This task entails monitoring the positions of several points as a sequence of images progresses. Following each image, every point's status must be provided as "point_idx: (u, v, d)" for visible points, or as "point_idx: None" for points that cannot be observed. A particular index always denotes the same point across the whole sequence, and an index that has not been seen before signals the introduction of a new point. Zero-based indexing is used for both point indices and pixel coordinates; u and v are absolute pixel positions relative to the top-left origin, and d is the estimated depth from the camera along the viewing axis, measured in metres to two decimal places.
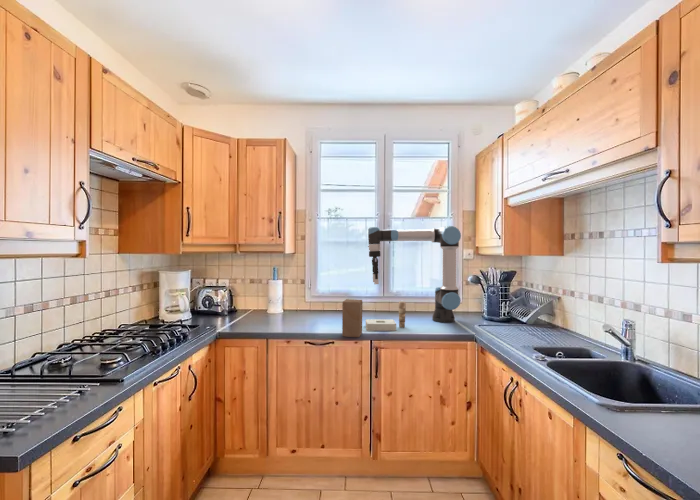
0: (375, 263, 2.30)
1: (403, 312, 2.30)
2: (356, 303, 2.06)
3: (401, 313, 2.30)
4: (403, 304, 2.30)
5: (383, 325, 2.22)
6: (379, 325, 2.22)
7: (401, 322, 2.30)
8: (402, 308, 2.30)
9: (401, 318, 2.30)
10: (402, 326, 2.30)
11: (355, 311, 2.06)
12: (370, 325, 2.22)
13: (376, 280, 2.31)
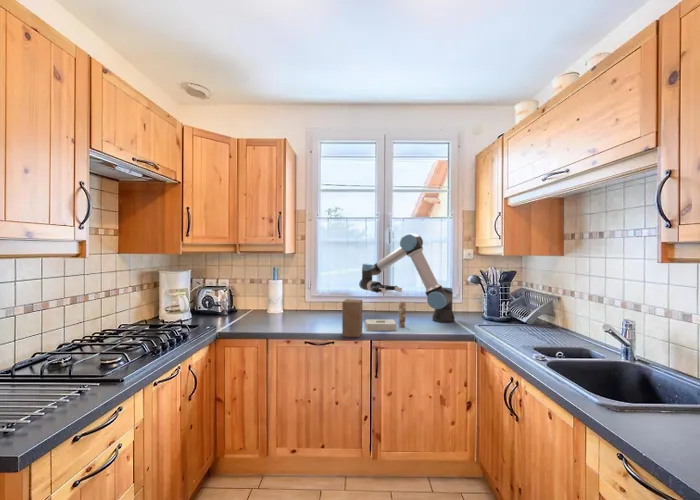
0: (372, 288, 2.47)
1: (403, 312, 2.30)
2: (356, 303, 2.06)
3: (401, 313, 2.30)
4: (403, 304, 2.30)
5: (383, 325, 2.22)
6: (379, 325, 2.22)
7: (401, 322, 2.30)
8: (402, 308, 2.30)
9: (401, 318, 2.30)
10: (402, 326, 2.30)
11: (355, 311, 2.06)
12: (370, 325, 2.22)
13: (382, 290, 2.38)
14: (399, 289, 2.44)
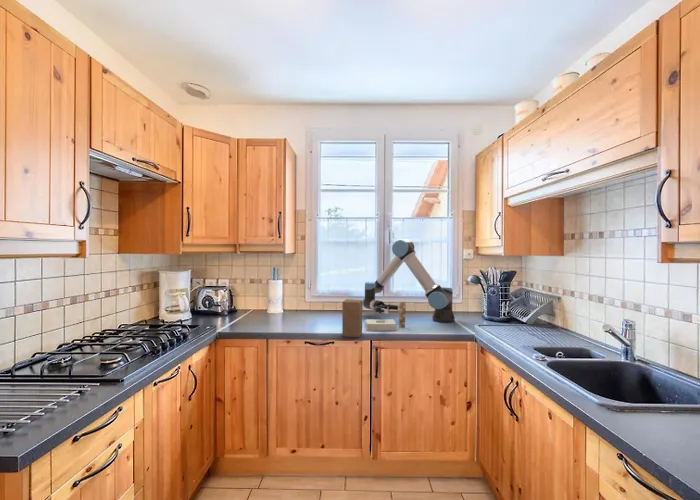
0: (375, 308, 2.44)
1: (403, 312, 2.30)
2: (356, 303, 2.06)
3: (401, 313, 2.30)
4: (403, 304, 2.30)
5: (383, 325, 2.22)
6: (379, 325, 2.22)
7: (401, 322, 2.30)
8: (402, 308, 2.30)
9: (401, 318, 2.30)
10: (402, 326, 2.30)
11: (355, 311, 2.06)
12: (370, 325, 2.22)
13: (384, 311, 2.35)
14: None
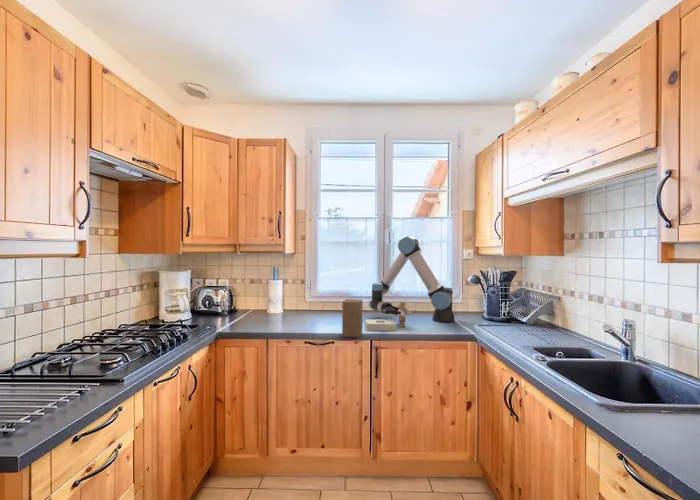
0: (386, 311, 2.36)
1: None
2: (356, 303, 2.06)
3: None
4: (403, 304, 2.30)
5: (383, 325, 2.22)
6: (379, 325, 2.22)
7: (401, 322, 2.30)
8: (402, 308, 2.30)
9: (401, 318, 2.30)
10: (402, 326, 2.30)
11: (355, 311, 2.06)
12: (370, 325, 2.22)
13: (401, 313, 2.28)
14: (408, 312, 2.30)
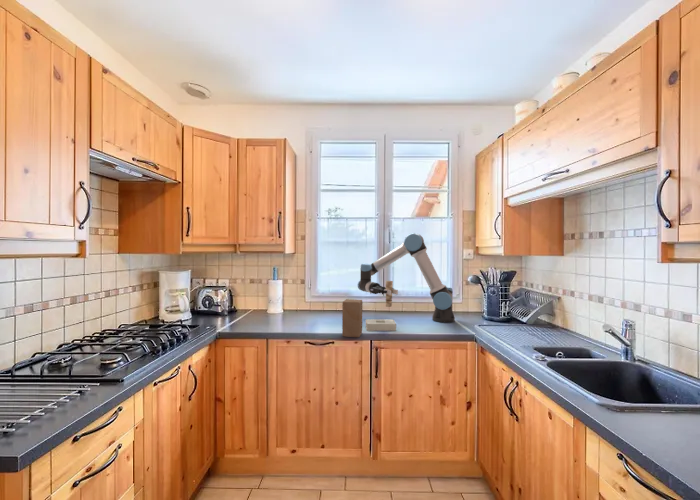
0: (373, 290, 2.35)
1: None
2: (356, 303, 2.06)
3: None
4: (390, 283, 2.28)
5: (383, 325, 2.22)
6: (379, 325, 2.22)
7: (388, 301, 2.29)
8: (389, 287, 2.28)
9: (388, 297, 2.29)
10: (389, 305, 2.29)
11: (355, 311, 2.06)
12: (370, 325, 2.22)
13: (388, 292, 2.27)
14: (395, 291, 2.28)
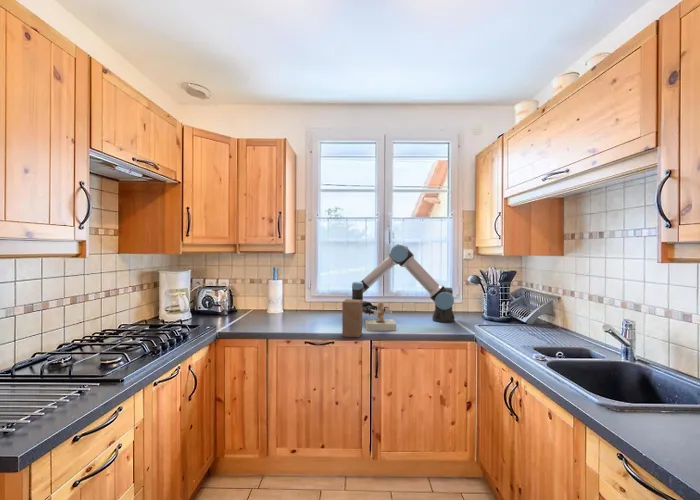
0: (363, 310, 2.33)
1: (382, 313, 2.27)
2: (356, 303, 2.06)
3: (379, 314, 2.27)
4: (381, 305, 2.27)
5: (383, 325, 2.22)
6: (379, 325, 2.22)
7: None
8: (380, 309, 2.27)
9: (379, 319, 2.27)
10: None
11: (355, 311, 2.06)
12: (370, 325, 2.22)
13: (374, 312, 2.24)
14: (389, 311, 2.29)
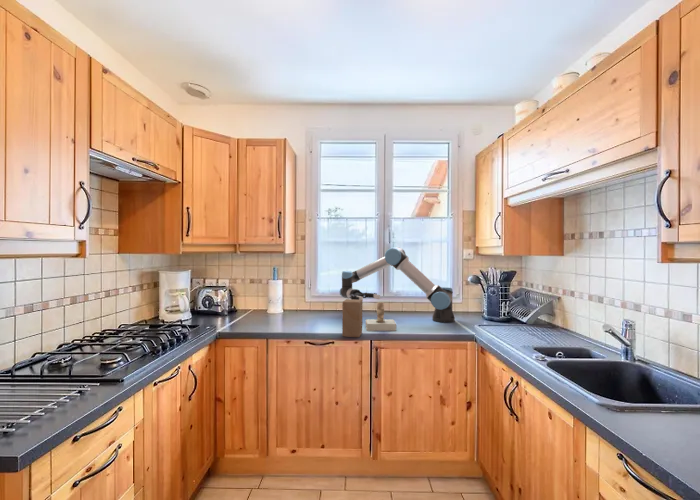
0: (350, 296, 2.45)
1: (382, 313, 2.27)
2: (356, 303, 2.06)
3: (379, 314, 2.27)
4: (381, 305, 2.27)
5: (383, 325, 2.22)
6: (379, 325, 2.22)
7: None
8: (380, 309, 2.27)
9: (379, 319, 2.27)
10: None
11: (355, 311, 2.06)
12: (370, 325, 2.22)
13: (359, 298, 2.36)
14: (377, 296, 2.42)
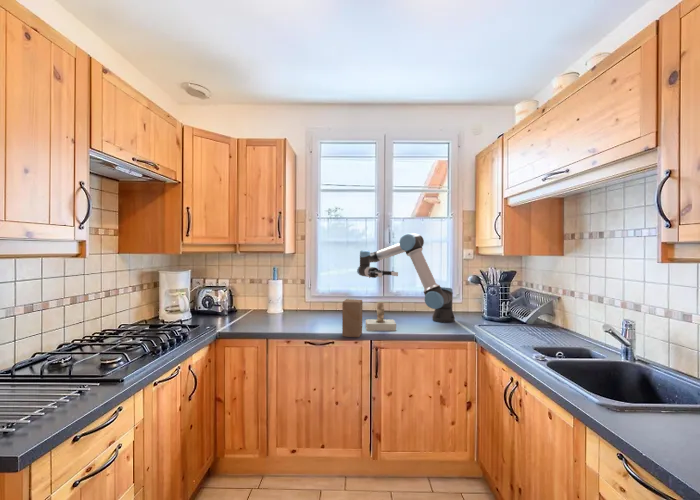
0: (369, 273, 2.54)
1: (382, 313, 2.27)
2: (356, 303, 2.06)
3: (379, 314, 2.27)
4: (381, 305, 2.27)
5: (383, 325, 2.22)
6: (379, 325, 2.22)
7: None
8: (380, 309, 2.27)
9: (379, 319, 2.27)
10: None
11: (355, 311, 2.06)
12: (370, 325, 2.22)
13: (378, 274, 2.45)
14: (395, 273, 2.51)
